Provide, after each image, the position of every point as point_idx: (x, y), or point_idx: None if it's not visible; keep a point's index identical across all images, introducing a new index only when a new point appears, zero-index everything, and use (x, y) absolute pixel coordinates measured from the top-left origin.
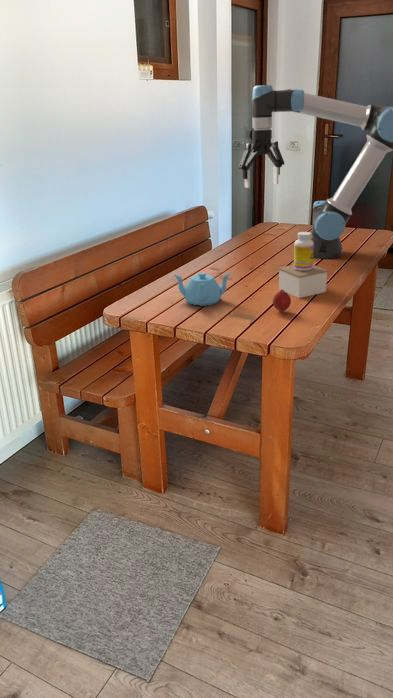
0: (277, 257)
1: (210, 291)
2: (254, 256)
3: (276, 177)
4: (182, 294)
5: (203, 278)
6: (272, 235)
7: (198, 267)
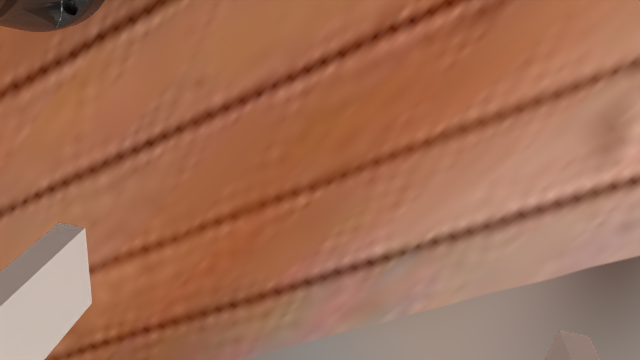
0: (250, 66)
1: None
2: (318, 154)
3: (18, 298)
4: None
5: None
6: None
7: (629, 207)
